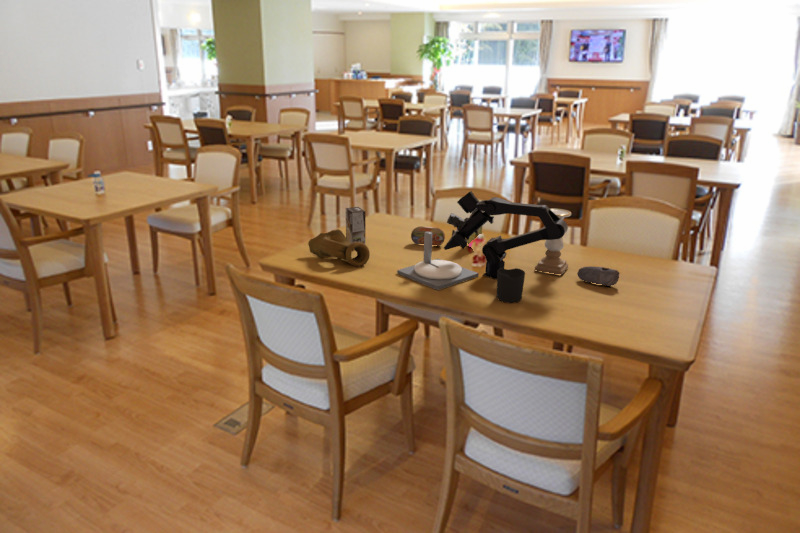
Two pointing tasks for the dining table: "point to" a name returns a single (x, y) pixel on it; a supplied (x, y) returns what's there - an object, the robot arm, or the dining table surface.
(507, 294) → the pen holder
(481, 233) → the sauce bottle
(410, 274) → the dial board
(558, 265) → the candle holder
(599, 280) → the perforated stone tool
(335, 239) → the brown looped sculpture
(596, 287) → the dining table surface
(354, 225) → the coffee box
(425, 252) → the dial
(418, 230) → the tin
